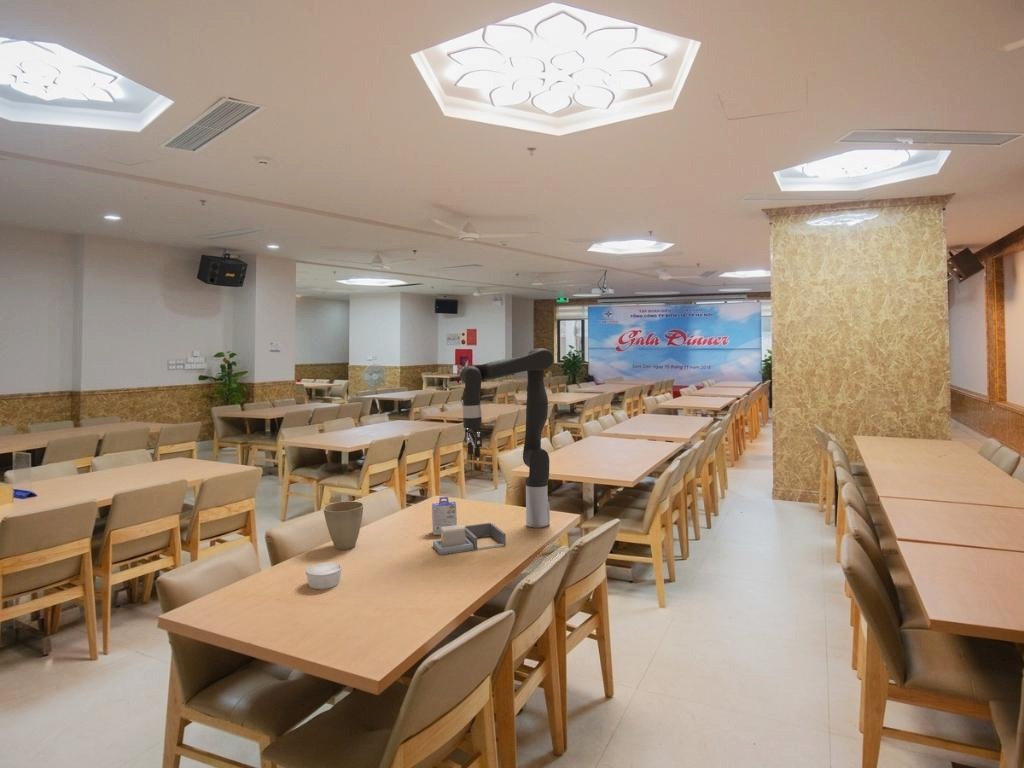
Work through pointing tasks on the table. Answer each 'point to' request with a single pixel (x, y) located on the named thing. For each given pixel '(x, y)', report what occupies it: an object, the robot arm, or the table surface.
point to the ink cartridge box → (443, 515)
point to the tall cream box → (452, 535)
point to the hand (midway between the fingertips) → (473, 455)
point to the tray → (453, 547)
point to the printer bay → (485, 534)
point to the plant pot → (344, 523)
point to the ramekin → (323, 575)
